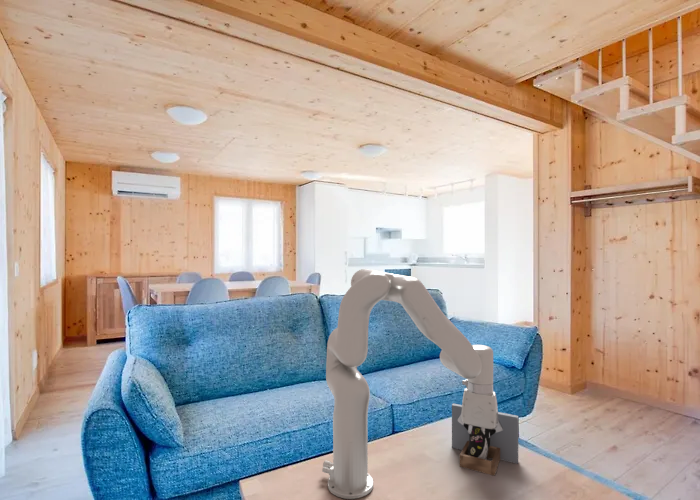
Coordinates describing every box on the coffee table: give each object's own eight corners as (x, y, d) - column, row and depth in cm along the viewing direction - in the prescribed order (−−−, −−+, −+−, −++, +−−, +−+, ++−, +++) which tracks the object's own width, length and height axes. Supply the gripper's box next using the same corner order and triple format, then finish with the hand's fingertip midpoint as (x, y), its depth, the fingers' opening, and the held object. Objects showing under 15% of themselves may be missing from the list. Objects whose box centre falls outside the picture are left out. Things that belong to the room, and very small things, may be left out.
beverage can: (488, 464, 118) (495, 426, 117) (468, 460, 119) (475, 422, 118) (484, 453, 124) (490, 416, 123) (465, 449, 125) (471, 413, 124)
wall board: (451, 447, 130) (451, 405, 130) (453, 445, 132) (453, 403, 131) (517, 463, 120) (517, 417, 120) (518, 461, 122) (518, 415, 122)
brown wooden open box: (459, 466, 119) (459, 454, 119) (467, 451, 128) (467, 440, 128) (494, 475, 114) (494, 463, 114) (500, 459, 123) (500, 448, 123)
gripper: (449, 385, 121) (449, 445, 122) (507, 395, 113) (506, 460, 114) (456, 378, 128) (455, 435, 128) (510, 387, 120) (510, 448, 120)
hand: (479, 446), depth 121 cm, fingers closed on beverage can, 3 cm apart
